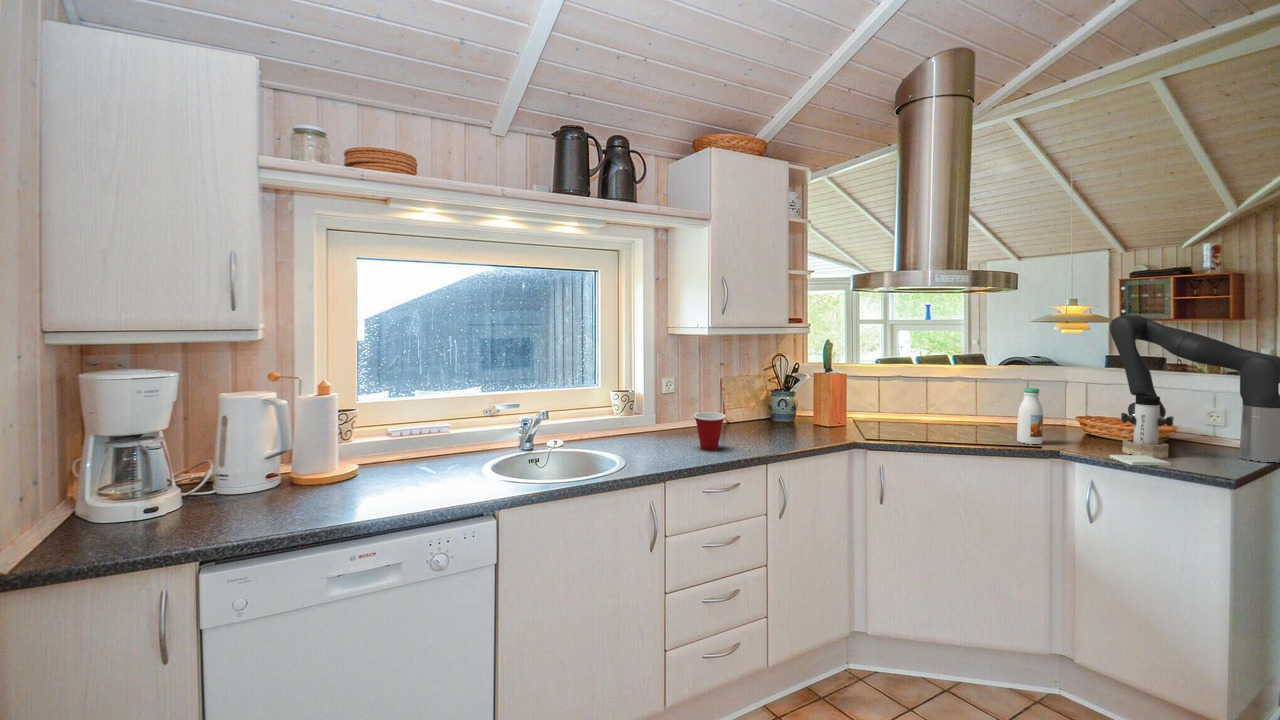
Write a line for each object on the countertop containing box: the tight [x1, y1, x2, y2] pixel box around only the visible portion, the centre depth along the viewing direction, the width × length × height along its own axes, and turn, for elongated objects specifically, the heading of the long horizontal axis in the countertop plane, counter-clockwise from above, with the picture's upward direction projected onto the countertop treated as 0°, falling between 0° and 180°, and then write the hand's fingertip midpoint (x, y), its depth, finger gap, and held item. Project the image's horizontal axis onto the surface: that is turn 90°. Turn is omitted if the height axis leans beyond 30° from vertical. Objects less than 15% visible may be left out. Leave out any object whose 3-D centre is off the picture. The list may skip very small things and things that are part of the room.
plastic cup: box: [693, 411, 726, 451], centre depth 207 cm, size 11×11×12 cm
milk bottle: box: [1016, 387, 1044, 445], centre depth 218 cm, size 8×8×20 cm
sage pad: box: [1109, 454, 1172, 467], centre depth 189 cm, size 11×10×1 cm
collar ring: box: [1121, 438, 1170, 459], centre depth 200 cm, size 11×11×4 cm
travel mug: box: [1133, 393, 1161, 445], centre depth 199 cm, size 6×7×20 cm
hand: (1146, 422), depth 197 cm, fingers closed on travel mug, 6 cm apart
